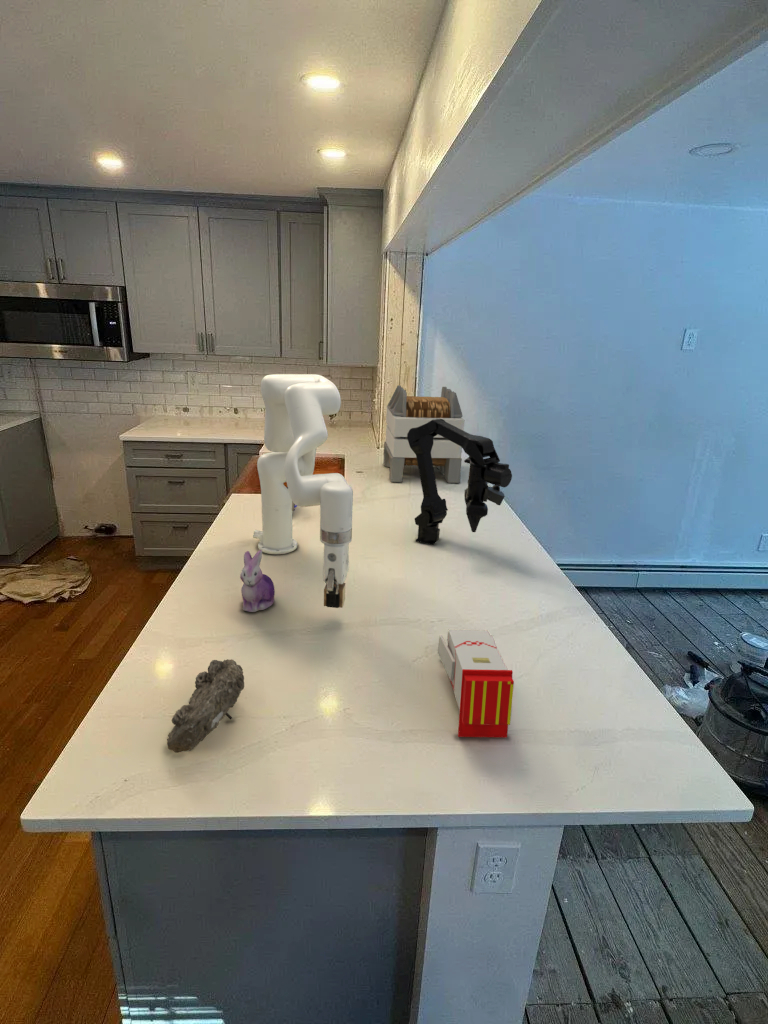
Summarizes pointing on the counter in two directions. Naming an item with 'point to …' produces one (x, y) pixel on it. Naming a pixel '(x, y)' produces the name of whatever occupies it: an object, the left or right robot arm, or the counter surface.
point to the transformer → (414, 414)
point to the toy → (478, 682)
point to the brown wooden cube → (341, 591)
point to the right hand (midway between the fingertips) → (472, 526)
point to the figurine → (255, 584)
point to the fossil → (206, 705)
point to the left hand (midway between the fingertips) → (334, 601)
